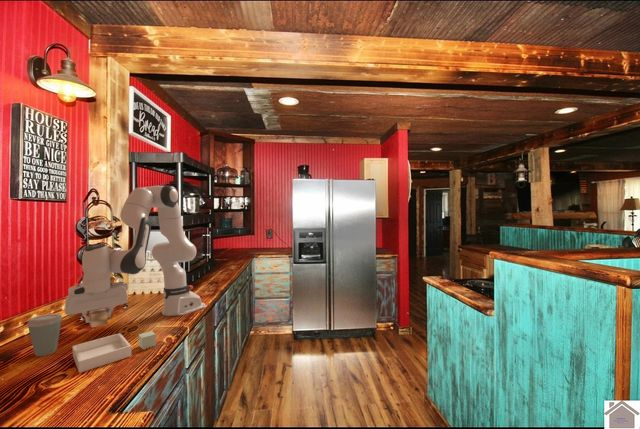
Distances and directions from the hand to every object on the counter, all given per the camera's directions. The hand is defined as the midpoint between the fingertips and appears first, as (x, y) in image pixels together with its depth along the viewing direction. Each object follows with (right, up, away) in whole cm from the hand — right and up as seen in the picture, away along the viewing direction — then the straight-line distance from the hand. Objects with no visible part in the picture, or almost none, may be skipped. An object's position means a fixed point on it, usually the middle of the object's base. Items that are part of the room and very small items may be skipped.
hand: (98, 319), depth 119 cm
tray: (+3, -13, -2) cm, 14 cm away
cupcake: (-27, -14, +40) cm, 50 cm away
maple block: (0, -2, 0) cm, 2 cm away
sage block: (+17, -13, +5) cm, 22 cm away
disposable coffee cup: (-22, -14, +2) cm, 26 cm away
